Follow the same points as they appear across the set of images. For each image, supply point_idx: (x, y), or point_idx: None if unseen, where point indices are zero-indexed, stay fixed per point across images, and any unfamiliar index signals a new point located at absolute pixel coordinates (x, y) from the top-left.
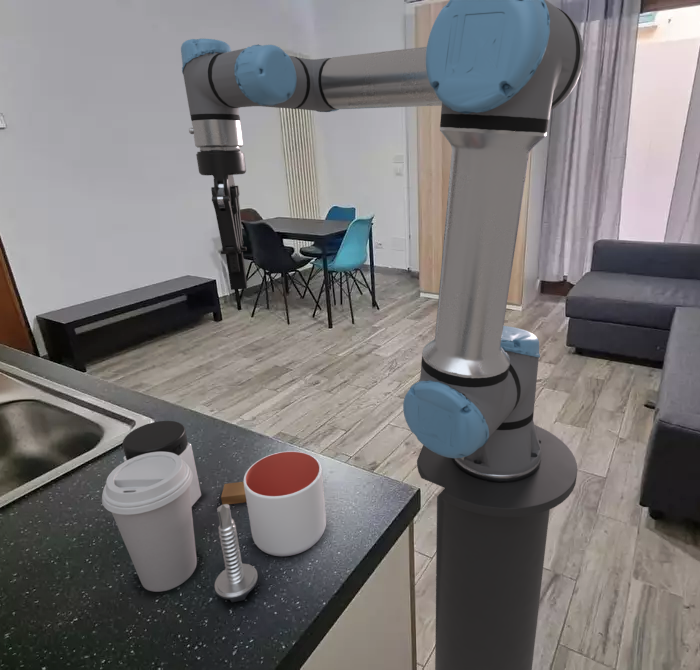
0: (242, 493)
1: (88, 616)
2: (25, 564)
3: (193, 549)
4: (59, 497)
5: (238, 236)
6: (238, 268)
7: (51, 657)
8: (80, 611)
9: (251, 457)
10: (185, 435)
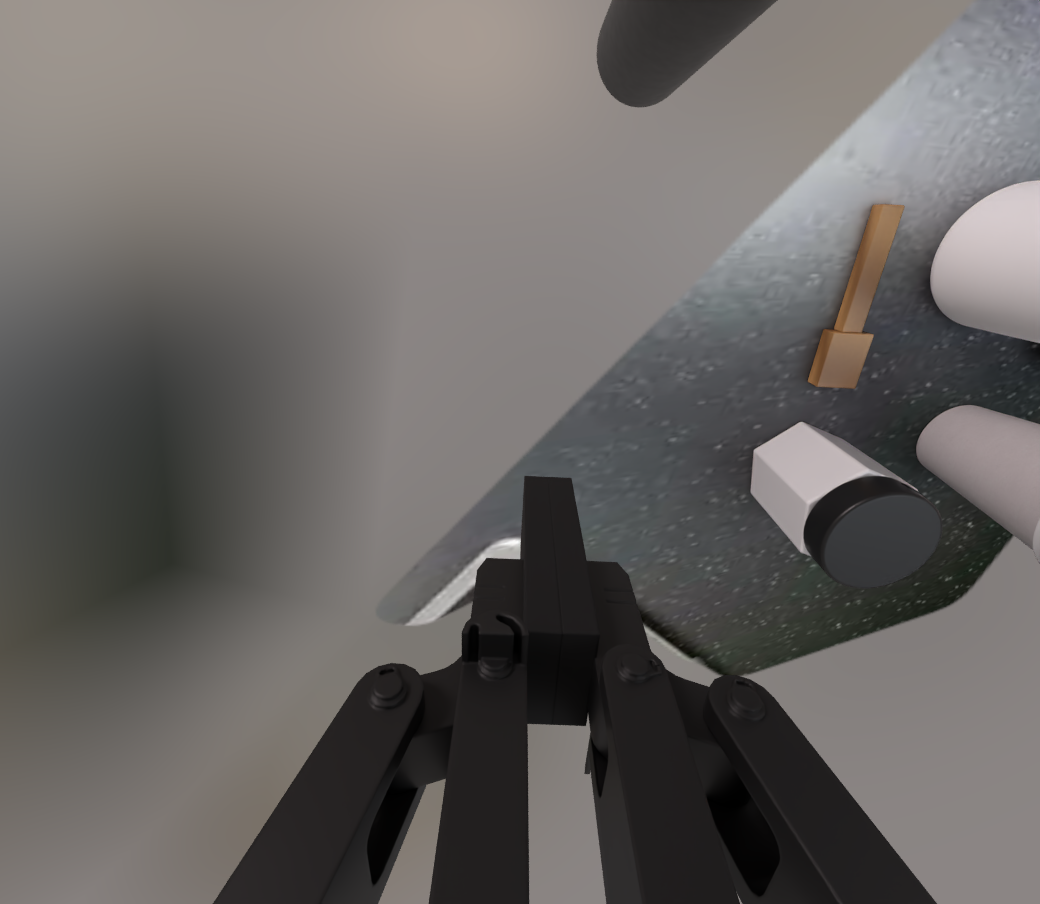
0: (866, 351)
1: (974, 512)
2: (835, 600)
3: (1008, 415)
4: (702, 609)
5: (629, 797)
6: (627, 581)
7: None
8: (960, 522)
9: (711, 341)
10: (891, 487)
